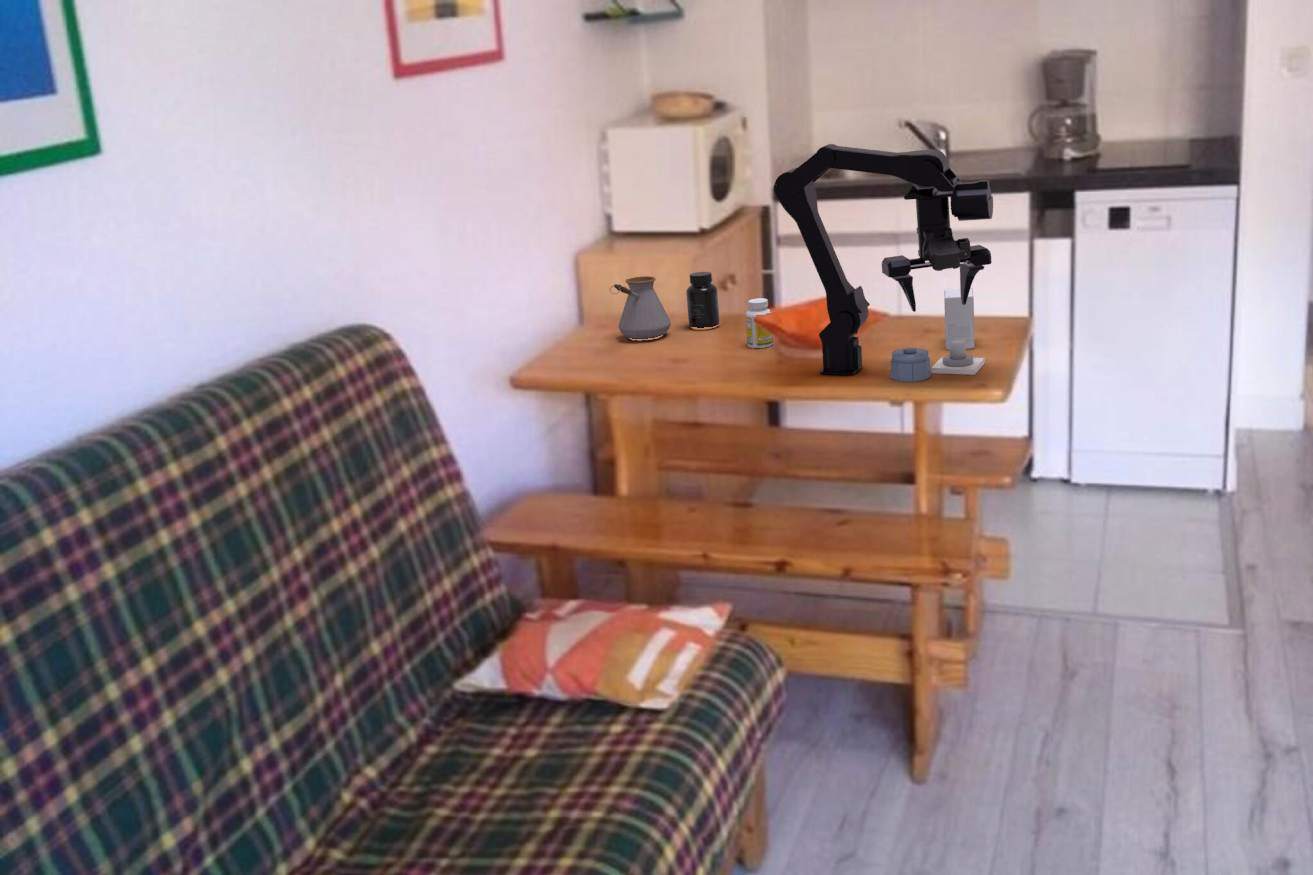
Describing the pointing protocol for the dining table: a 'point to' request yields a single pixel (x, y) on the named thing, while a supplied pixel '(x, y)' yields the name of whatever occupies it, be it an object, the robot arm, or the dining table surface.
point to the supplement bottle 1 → (702, 301)
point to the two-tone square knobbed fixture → (958, 361)
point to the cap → (910, 365)
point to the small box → (959, 317)
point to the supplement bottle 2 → (754, 332)
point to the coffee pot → (642, 310)
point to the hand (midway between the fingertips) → (938, 307)
